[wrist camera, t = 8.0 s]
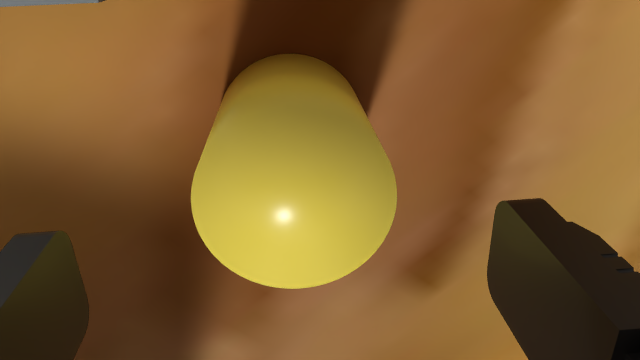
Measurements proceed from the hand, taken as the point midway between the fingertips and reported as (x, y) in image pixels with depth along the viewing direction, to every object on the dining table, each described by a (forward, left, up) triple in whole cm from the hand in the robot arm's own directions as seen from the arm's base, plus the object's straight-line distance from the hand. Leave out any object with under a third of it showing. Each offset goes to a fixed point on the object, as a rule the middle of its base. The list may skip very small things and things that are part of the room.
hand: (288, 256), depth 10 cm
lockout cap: (0, 0, -9) cm, 9 cm away
